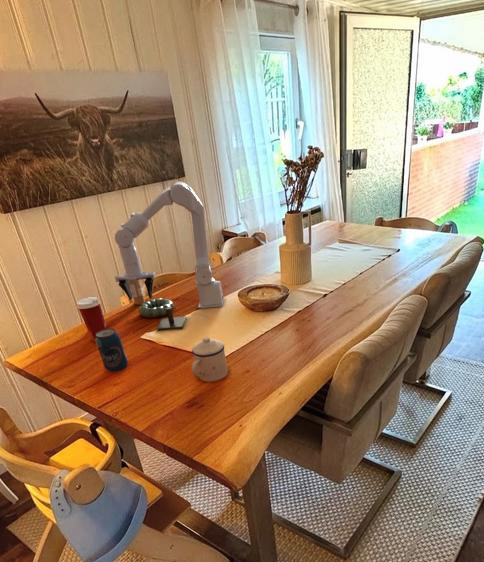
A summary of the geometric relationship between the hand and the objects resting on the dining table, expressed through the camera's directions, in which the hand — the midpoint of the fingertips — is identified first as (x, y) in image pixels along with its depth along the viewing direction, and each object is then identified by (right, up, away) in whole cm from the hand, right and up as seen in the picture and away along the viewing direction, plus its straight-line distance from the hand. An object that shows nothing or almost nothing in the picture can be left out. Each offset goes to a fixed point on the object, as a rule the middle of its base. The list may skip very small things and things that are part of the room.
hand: (141, 298), depth 165 cm
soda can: (+3, -29, -32) cm, 44 cm away
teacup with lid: (+34, -32, -41) cm, 62 cm away
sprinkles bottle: (-5, +1, +14) cm, 14 cm away
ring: (+5, -3, +2) cm, 7 cm away
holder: (+14, -12, -8) cm, 20 cm away
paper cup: (-10, -17, -13) cm, 24 cm away
